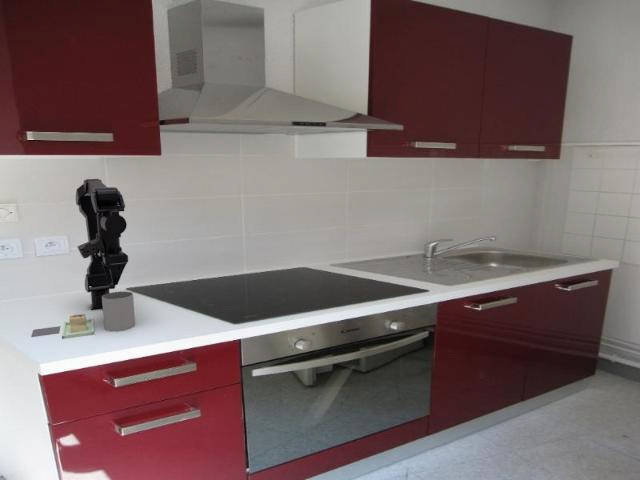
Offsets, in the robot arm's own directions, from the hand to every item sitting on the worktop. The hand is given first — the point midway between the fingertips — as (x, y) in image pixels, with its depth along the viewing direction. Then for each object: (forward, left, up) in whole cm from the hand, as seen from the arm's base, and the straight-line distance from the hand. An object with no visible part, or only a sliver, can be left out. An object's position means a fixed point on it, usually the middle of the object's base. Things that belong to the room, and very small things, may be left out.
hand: (112, 281), depth 150 cm
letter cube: (+4, -10, -12) cm, 16 cm away
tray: (+4, -10, -13) cm, 17 cm away
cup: (+6, +1, -13) cm, 14 cm away
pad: (+1, -18, -13) cm, 22 cm away
